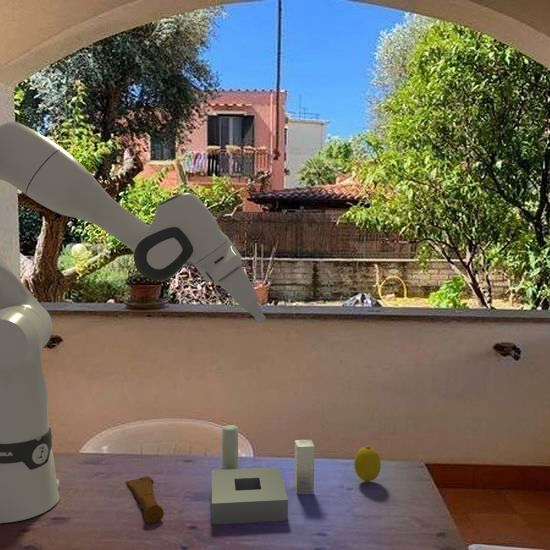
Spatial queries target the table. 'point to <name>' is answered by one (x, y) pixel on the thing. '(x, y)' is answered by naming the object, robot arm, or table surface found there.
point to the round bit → (230, 447)
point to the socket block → (248, 496)
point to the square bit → (304, 467)
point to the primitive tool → (146, 499)
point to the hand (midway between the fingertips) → (258, 316)
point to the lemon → (367, 464)
